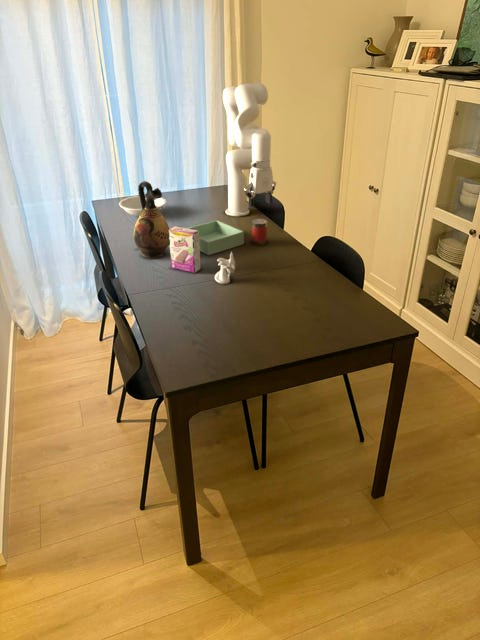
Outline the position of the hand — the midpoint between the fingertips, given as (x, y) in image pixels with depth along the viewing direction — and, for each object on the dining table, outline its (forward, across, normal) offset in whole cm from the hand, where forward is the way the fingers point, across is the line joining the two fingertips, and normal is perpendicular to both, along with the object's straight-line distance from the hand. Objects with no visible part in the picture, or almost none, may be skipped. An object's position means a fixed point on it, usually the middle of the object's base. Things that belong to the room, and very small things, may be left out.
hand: (260, 205), depth 211 cm
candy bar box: (+18, -41, -2) cm, 44 cm away
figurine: (+18, -36, -22) cm, 45 cm away
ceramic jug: (+18, -43, +20) cm, 51 cm away
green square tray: (+17, -16, +14) cm, 27 cm away
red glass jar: (+17, 0, 0) cm, 17 cm away
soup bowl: (+17, -20, +66) cm, 71 cm away
